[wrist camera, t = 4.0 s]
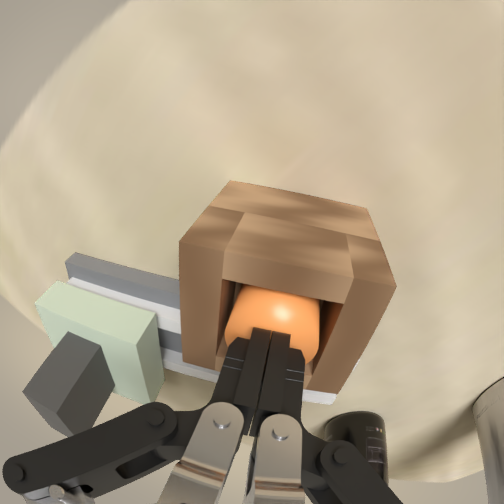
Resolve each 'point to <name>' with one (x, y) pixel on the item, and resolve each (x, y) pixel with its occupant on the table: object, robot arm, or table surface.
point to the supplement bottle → (362, 437)
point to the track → (151, 309)
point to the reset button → (276, 317)
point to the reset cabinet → (284, 273)
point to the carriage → (93, 357)
